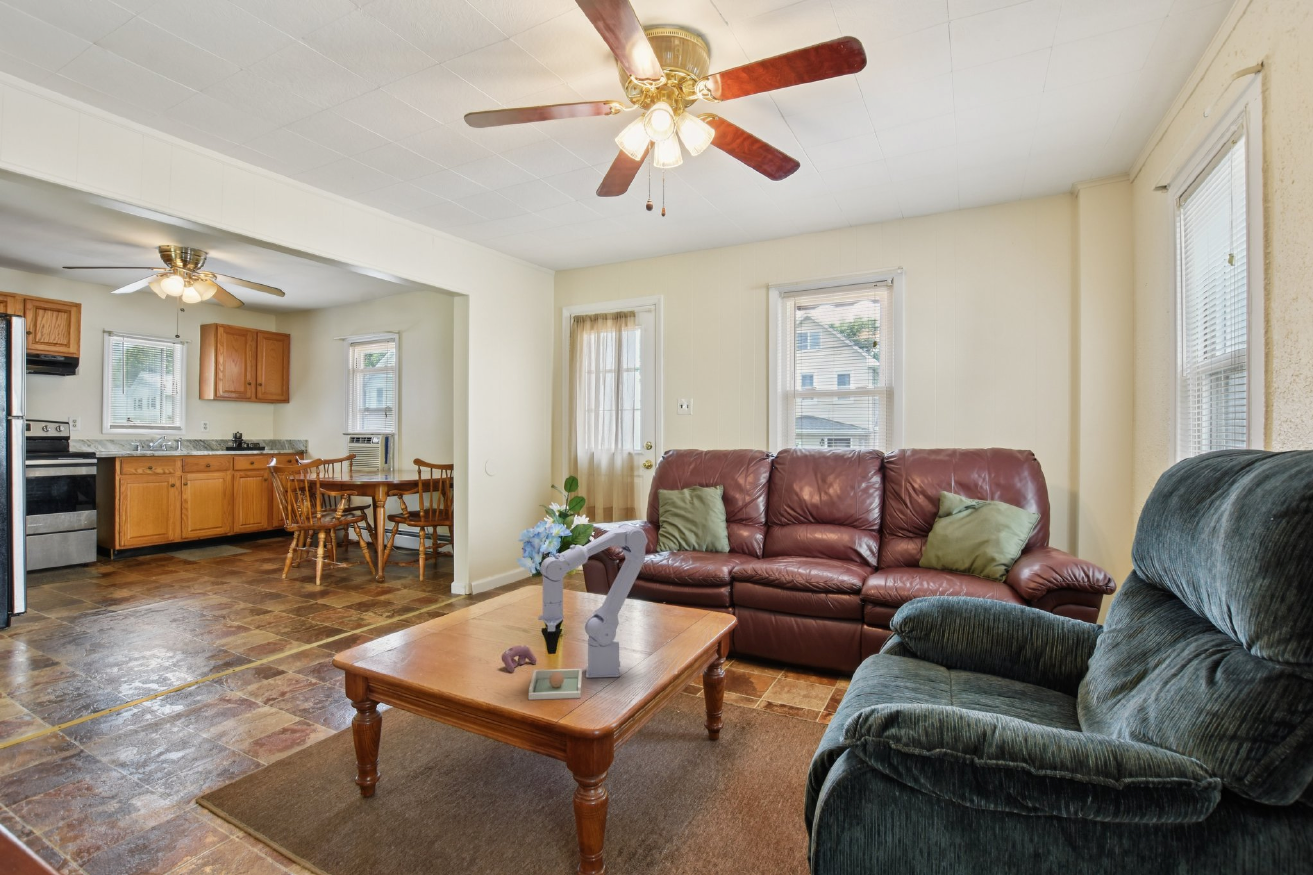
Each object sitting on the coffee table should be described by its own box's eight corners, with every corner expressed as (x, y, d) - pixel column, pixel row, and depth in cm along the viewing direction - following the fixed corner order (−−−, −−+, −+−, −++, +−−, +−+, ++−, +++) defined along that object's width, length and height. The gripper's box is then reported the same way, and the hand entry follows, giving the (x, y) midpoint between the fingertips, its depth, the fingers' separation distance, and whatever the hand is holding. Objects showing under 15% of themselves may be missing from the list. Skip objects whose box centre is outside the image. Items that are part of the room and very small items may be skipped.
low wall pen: (581, 677, 175) (582, 668, 175) (580, 697, 162) (580, 688, 161) (534, 678, 174) (534, 670, 174) (528, 699, 160) (528, 690, 160)
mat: (577, 679, 174) (577, 677, 174) (576, 696, 162) (576, 695, 162) (537, 680, 173) (537, 679, 173) (533, 697, 161) (533, 696, 161)
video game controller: (530, 666, 187) (523, 643, 189) (538, 662, 185) (532, 639, 187) (503, 676, 180) (497, 652, 182) (512, 672, 177) (505, 648, 179)
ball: (564, 683, 170) (564, 669, 170) (563, 689, 166) (563, 675, 166) (549, 684, 169) (549, 669, 169) (548, 690, 165) (548, 675, 165)
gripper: (540, 594, 178) (540, 640, 178) (536, 608, 164) (536, 658, 164) (564, 593, 179) (564, 639, 179) (562, 607, 165) (562, 657, 165)
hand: (552, 648), depth 172 cm, fingers open, 7 cm apart
